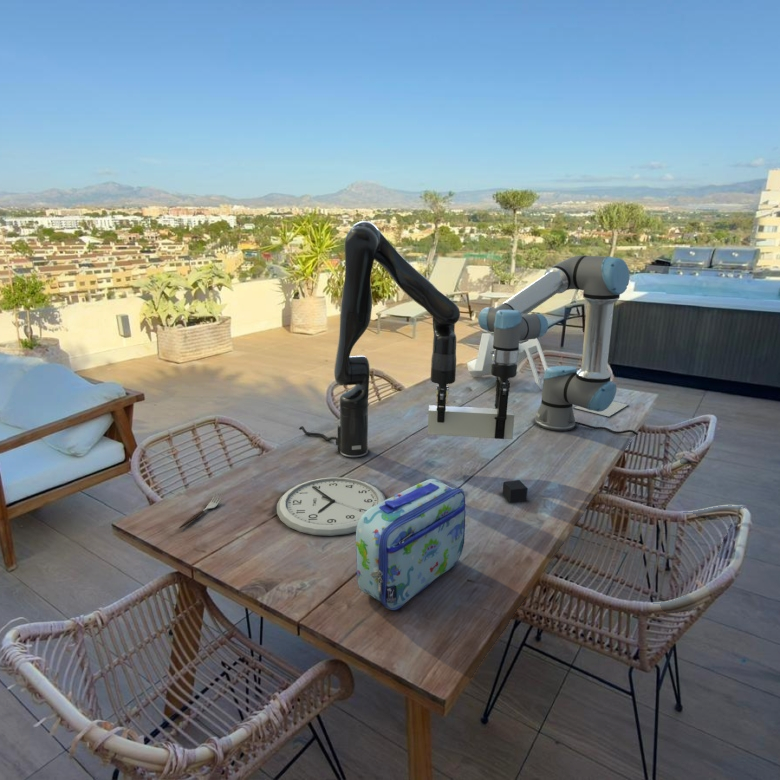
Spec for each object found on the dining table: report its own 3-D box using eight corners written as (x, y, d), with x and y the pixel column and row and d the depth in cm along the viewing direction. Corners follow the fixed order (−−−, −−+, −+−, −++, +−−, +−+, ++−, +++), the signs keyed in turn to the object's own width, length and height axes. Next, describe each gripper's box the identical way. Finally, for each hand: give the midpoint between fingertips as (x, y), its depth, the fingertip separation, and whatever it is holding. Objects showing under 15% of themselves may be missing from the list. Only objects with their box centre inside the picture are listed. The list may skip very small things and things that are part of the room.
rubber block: (518, 492, 152) (519, 479, 150) (526, 500, 147) (527, 488, 146) (502, 494, 151) (503, 481, 149) (509, 502, 146) (511, 489, 145)
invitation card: (608, 416, 214) (573, 407, 224) (608, 416, 214) (573, 408, 224) (628, 404, 229) (594, 396, 238) (628, 405, 229) (594, 397, 238)
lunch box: (385, 624, 100) (387, 528, 94) (349, 596, 108) (348, 506, 101) (468, 566, 118) (474, 482, 112) (432, 545, 125) (436, 466, 119)
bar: (510, 433, 165) (512, 409, 162) (512, 439, 160) (514, 414, 158) (428, 428, 168) (429, 405, 165) (427, 434, 163) (428, 410, 161)
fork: (174, 529, 130) (174, 521, 130) (216, 499, 144) (215, 492, 144) (183, 531, 129) (182, 524, 129) (223, 501, 144) (223, 494, 143)
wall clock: (392, 527, 129) (268, 531, 127) (391, 533, 130) (269, 537, 127) (383, 473, 158) (282, 475, 155) (383, 478, 158) (282, 480, 156)
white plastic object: (487, 418, 267) (468, 395, 242) (469, 346, 289) (449, 318, 264) (558, 394, 255) (545, 368, 230) (533, 321, 277) (518, 289, 252)
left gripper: (432, 360, 166) (430, 410, 171) (430, 372, 152) (427, 426, 157) (455, 361, 165) (453, 411, 170) (455, 373, 151) (452, 427, 156)
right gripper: (489, 354, 165) (484, 423, 172) (493, 369, 148) (487, 445, 155) (514, 355, 164) (507, 425, 171) (520, 370, 147) (513, 447, 154)
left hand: (440, 418), depth 163 cm, fingers open, 5 cm apart
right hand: (498, 434), depth 163 cm, fingers closed on bar, 5 cm apart
